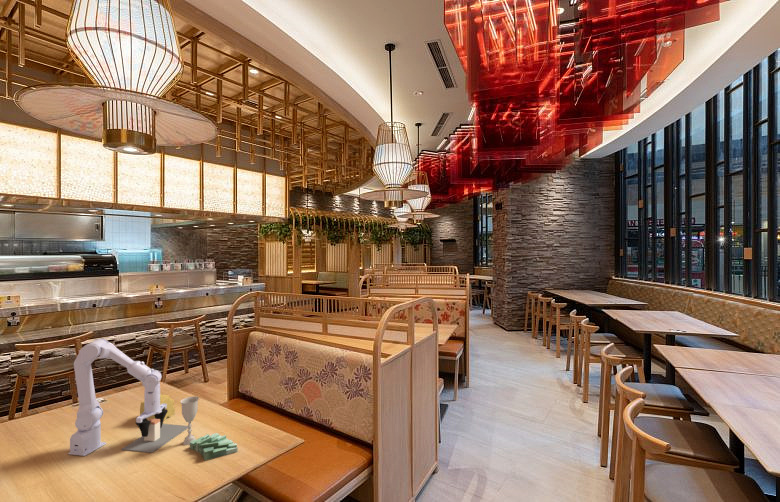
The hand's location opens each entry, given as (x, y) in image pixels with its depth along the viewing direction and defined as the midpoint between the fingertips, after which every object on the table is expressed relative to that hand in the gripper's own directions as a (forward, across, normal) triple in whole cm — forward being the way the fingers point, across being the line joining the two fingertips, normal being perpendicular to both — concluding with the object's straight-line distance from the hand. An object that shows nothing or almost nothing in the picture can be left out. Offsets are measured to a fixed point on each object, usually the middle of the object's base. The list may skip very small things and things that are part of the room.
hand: (152, 431), depth 158 cm
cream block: (+3, 0, 0) cm, 3 cm away
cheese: (+4, +18, +13) cm, 23 cm away
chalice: (+4, +1, -17) cm, 17 cm away
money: (+4, -2, -31) cm, 32 cm away
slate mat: (+3, +2, -1) cm, 4 cm away
